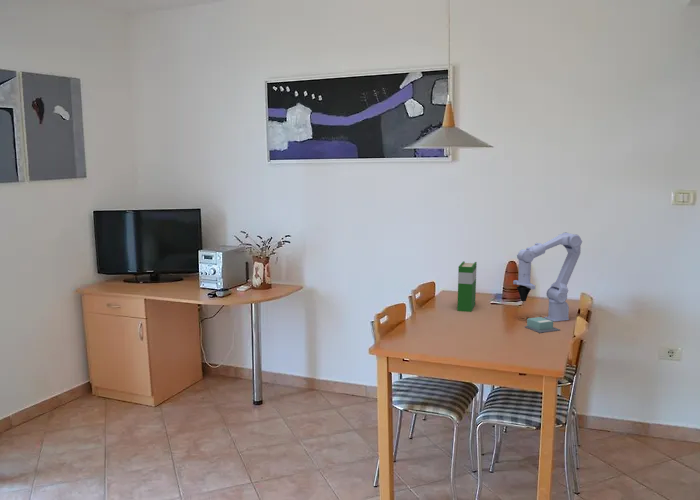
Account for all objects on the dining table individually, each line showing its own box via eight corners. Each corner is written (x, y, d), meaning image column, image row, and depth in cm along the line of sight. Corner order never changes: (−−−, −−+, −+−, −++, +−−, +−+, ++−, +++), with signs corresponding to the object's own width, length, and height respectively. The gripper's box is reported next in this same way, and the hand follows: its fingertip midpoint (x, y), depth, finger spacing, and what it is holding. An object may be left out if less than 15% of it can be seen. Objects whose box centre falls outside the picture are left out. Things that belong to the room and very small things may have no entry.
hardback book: (461, 303, 341) (463, 261, 337) (475, 304, 338) (476, 262, 335) (457, 310, 324) (458, 266, 321) (471, 312, 322) (472, 267, 318)
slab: (540, 316, 296) (553, 321, 288) (540, 323, 297) (552, 328, 289) (527, 318, 293) (539, 322, 285) (526, 325, 294) (539, 330, 285)
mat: (544, 324, 297) (544, 323, 297) (560, 330, 287) (560, 329, 287) (524, 327, 292) (524, 326, 292) (539, 333, 282) (539, 332, 282)
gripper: (508, 272, 305) (507, 298, 307) (527, 277, 291) (526, 304, 293) (520, 271, 307) (519, 297, 309) (539, 276, 294) (538, 303, 296)
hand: (523, 300), depth 301 cm, fingers closed
